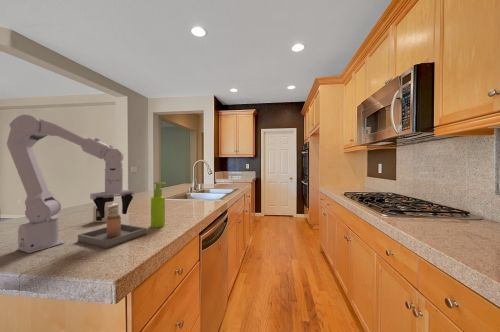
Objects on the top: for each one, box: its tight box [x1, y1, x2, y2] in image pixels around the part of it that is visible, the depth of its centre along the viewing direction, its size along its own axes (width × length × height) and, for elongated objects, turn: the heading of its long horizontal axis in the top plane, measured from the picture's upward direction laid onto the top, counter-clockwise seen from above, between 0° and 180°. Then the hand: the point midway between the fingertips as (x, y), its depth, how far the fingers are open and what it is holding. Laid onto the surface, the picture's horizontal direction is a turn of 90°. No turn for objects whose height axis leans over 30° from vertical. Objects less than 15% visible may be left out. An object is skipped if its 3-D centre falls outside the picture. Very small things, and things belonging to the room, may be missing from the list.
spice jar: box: [106, 214, 122, 238], centre depth 82 cm, size 5×5×8 cm
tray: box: [77, 223, 148, 250], centre depth 82 cm, size 16×16×2 cm
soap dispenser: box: [150, 181, 167, 228], centre depth 98 cm, size 6×7×20 cm
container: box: [92, 195, 119, 223], centre depth 107 cm, size 8×8×13 cm
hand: (113, 215), depth 82 cm, fingers open, 7 cm apart
